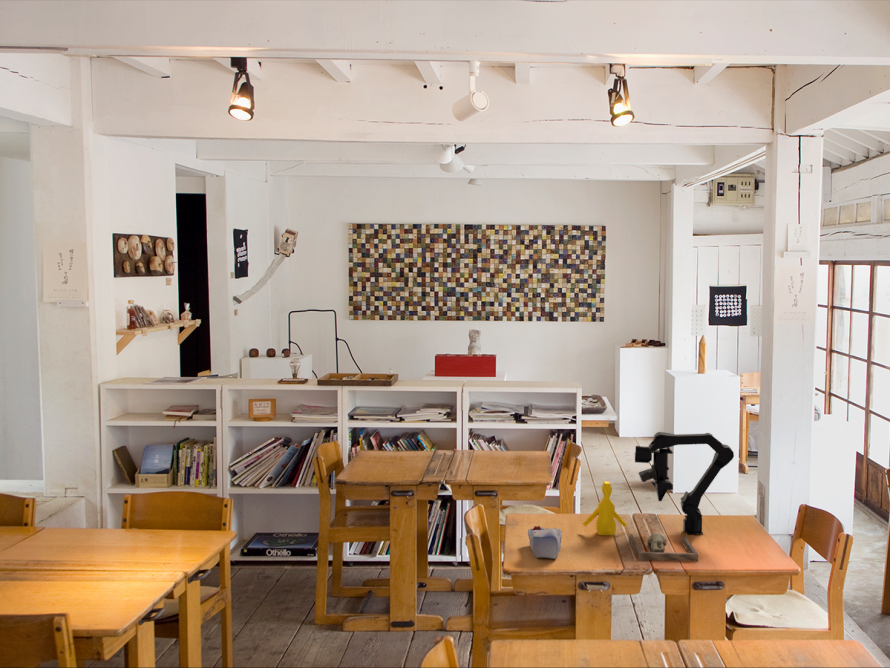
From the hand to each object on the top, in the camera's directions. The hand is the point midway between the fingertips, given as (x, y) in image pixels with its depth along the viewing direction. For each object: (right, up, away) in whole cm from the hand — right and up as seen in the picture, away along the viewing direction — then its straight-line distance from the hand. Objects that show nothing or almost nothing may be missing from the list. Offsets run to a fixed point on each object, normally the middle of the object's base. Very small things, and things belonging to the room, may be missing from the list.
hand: (659, 501), depth 307 cm
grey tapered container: (-50, -14, -24) cm, 57 cm away
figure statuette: (-23, -13, -4) cm, 27 cm away
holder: (-6, -14, -23) cm, 27 cm away
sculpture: (-7, -14, -23) cm, 28 cm away
